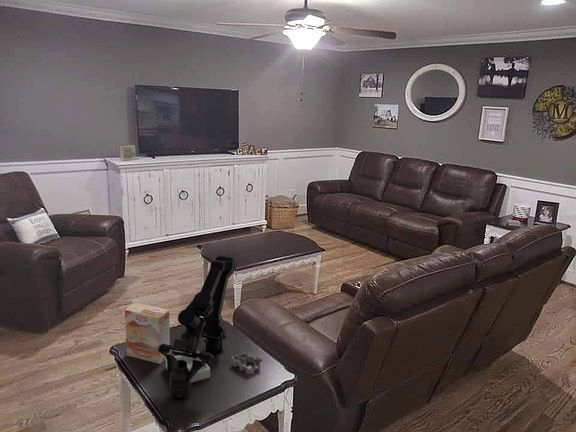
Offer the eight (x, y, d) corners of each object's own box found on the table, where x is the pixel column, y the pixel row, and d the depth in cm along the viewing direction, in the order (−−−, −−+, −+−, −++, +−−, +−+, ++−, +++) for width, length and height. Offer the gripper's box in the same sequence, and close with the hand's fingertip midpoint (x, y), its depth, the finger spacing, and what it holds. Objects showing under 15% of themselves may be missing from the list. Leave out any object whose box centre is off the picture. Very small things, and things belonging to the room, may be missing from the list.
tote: (198, 358, 167) (198, 350, 166) (210, 377, 156) (210, 368, 156) (165, 367, 161) (165, 359, 160) (175, 387, 150) (175, 378, 149)
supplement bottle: (171, 388, 149) (171, 357, 146) (191, 388, 150) (191, 357, 147) (168, 401, 143) (167, 370, 140) (189, 401, 144) (188, 369, 140)
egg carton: (263, 369, 163) (263, 359, 162) (248, 377, 158) (248, 367, 157) (244, 356, 170) (245, 347, 169) (229, 364, 165) (230, 354, 164)
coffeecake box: (126, 355, 166) (124, 309, 161) (137, 346, 173) (136, 301, 168) (160, 364, 162) (158, 317, 157) (170, 354, 169) (169, 309, 164)
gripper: (159, 322, 146) (142, 369, 139) (211, 332, 142) (196, 381, 135) (171, 331, 156) (156, 376, 148) (220, 341, 152) (206, 387, 144)
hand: (177, 380), depth 143 cm, fingers closed on supplement bottle, 7 cm apart
